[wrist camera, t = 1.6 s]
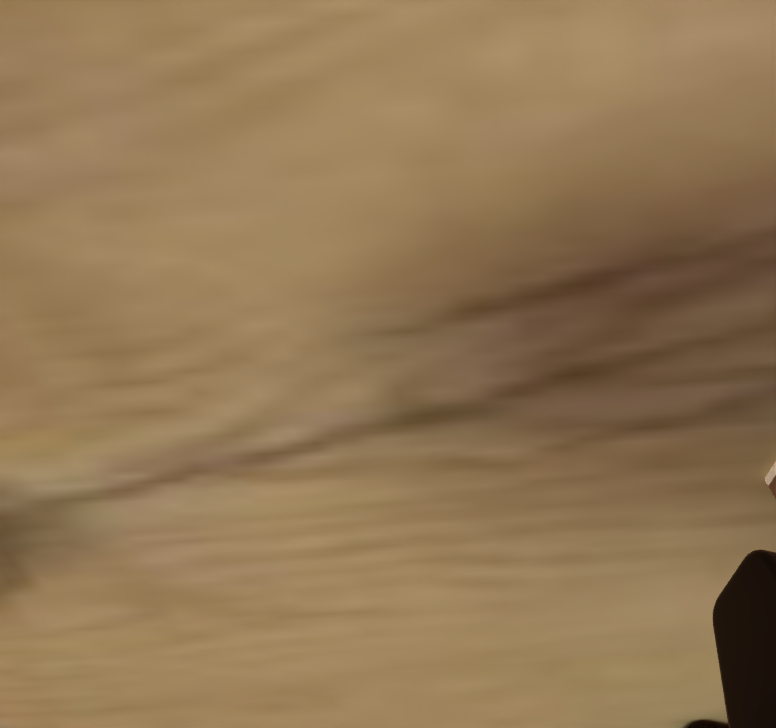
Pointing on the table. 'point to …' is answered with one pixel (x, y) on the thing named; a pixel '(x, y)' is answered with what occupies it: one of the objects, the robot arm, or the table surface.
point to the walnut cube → (772, 479)
